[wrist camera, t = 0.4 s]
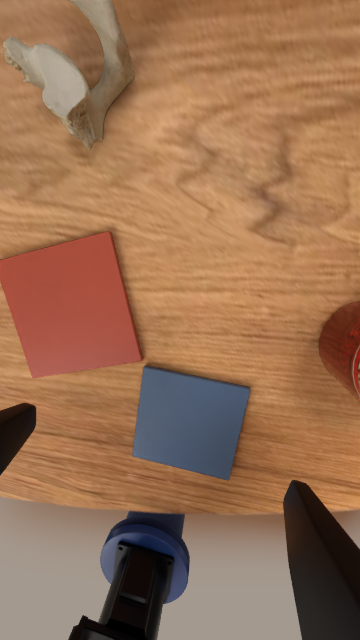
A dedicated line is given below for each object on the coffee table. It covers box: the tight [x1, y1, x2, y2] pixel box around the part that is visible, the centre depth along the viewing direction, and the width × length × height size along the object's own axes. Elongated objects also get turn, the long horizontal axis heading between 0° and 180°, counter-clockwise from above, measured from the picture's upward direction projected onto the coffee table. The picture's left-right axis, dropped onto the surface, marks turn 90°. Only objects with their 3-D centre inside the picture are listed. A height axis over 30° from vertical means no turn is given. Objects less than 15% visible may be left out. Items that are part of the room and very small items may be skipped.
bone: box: [3, 0, 134, 150], centre depth 17 cm, size 9×6×10 cm
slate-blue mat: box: [132, 366, 250, 480], centre depth 25 cm, size 10×10×1 cm
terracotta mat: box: [0, 231, 143, 378], centre depth 24 cm, size 12×12×1 cm
